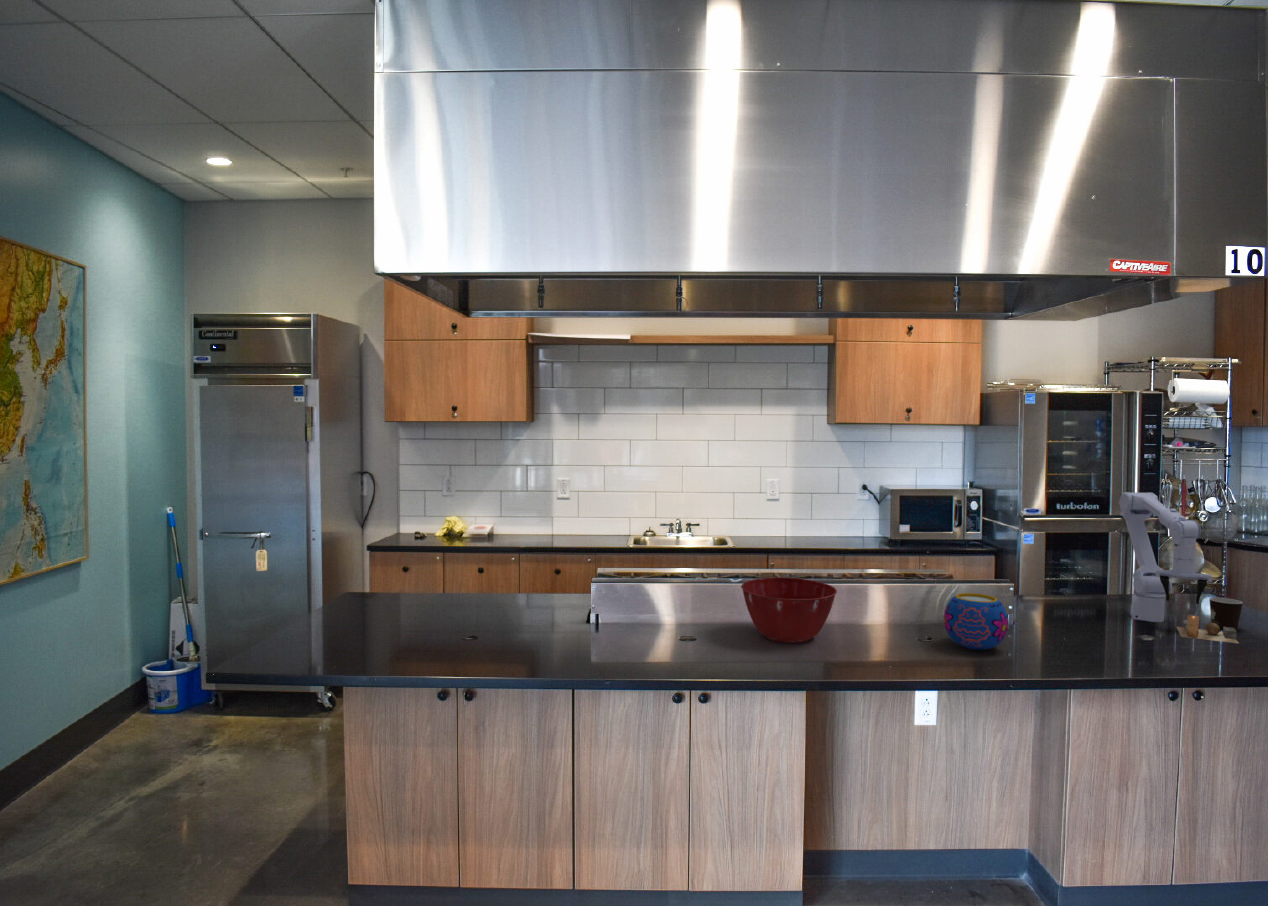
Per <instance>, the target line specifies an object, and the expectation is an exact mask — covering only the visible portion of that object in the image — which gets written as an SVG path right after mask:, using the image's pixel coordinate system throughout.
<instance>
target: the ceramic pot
mask: <svg viewBox="0 0 1268 906" xmlns="http://www.w3.org/2000/svg"><path fill="white" fill-rule="evenodd" d="M1009 624H1010V623H1009V618H1008V614H1007V610H1006V608H1005V606H1004V605H1003V604H1002V602H1001V601H1000V600H999V599H998V598H997V597H995V596H992V595H986V594H982V593H973V592H972V593H971V592H964V593H958V594H955V595H954V596H952V598H950V600H949V601H948V603H947V604H946V607H945V609H944V613H943V625H944V629H945V631H946V634H947V635H948V637H949V638H950V639H951V641H953V642H955V643H956V644H957V645H959V646H960V647H964V648H966V649H969V650H974V651H983V650H989V649H993V648H995V647H997V646H998V645H1000V644H1001V643H1002V642H1003V640H1004V639H1005V638H1006V635H1007V633H1008V631H1009Z"/></svg>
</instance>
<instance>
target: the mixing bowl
mask: <svg viewBox="0 0 1268 906" xmlns="http://www.w3.org/2000/svg"><path fill="white" fill-rule="evenodd" d="M740 588H741V590H742V593H743V598H744V602H745V604H746V605H745V606H746V608H747V611H748V615H749V616H750V619H751V620H752V623H753V625H754V627H755V628H756V629H757V631H758V632H759V633H760V634H761V635H763V636H764V637H765V638H766V639H768V640H771V641H773V642H777V643H783V644H801V643H805V642H808V641H810V640H811V639H813V638H814V637H816V636H817V635H818V634H819V633H820V632H821V630H822V629H823V627H824V625H825V623H826V621H827V619H828V617H829V614H830V613H831V610H832V608H833V605H834V600H835V596H836V594H837V593H838V590H837V589H836V587H834V586H832V585H830V584H828V583H825V582H821V581H816V580H811V579H805V578H796V577H762V578H756V579H750V580H747V581H745V582H743V583H741V585H740Z"/></svg>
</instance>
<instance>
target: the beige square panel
mask: <svg viewBox="0 0 1268 906" xmlns="http://www.w3.org/2000/svg"><path fill="white" fill-rule="evenodd" d="M1186 627H1187V624H1185V625H1184V627H1182V626H1176V629H1177V632H1178V633H1179V635H1180V637H1181V638H1189V639H1198V640H1205V641H1206V640H1207V641H1213V642H1214V641H1215V642H1223V643H1232V644H1240V643H1239V641H1238V640H1237V631H1238V630H1237V631H1236V630H1235V629H1234V628H1230V627H1223V630H1222V631H1220V632H1219V633H1218V634H1216V635H1212V634H1209V633H1208V632H1207V631H1206V629H1202V628H1199V633H1198V637H1192V636H1188V635H1187V628H1186Z"/></svg>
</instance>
